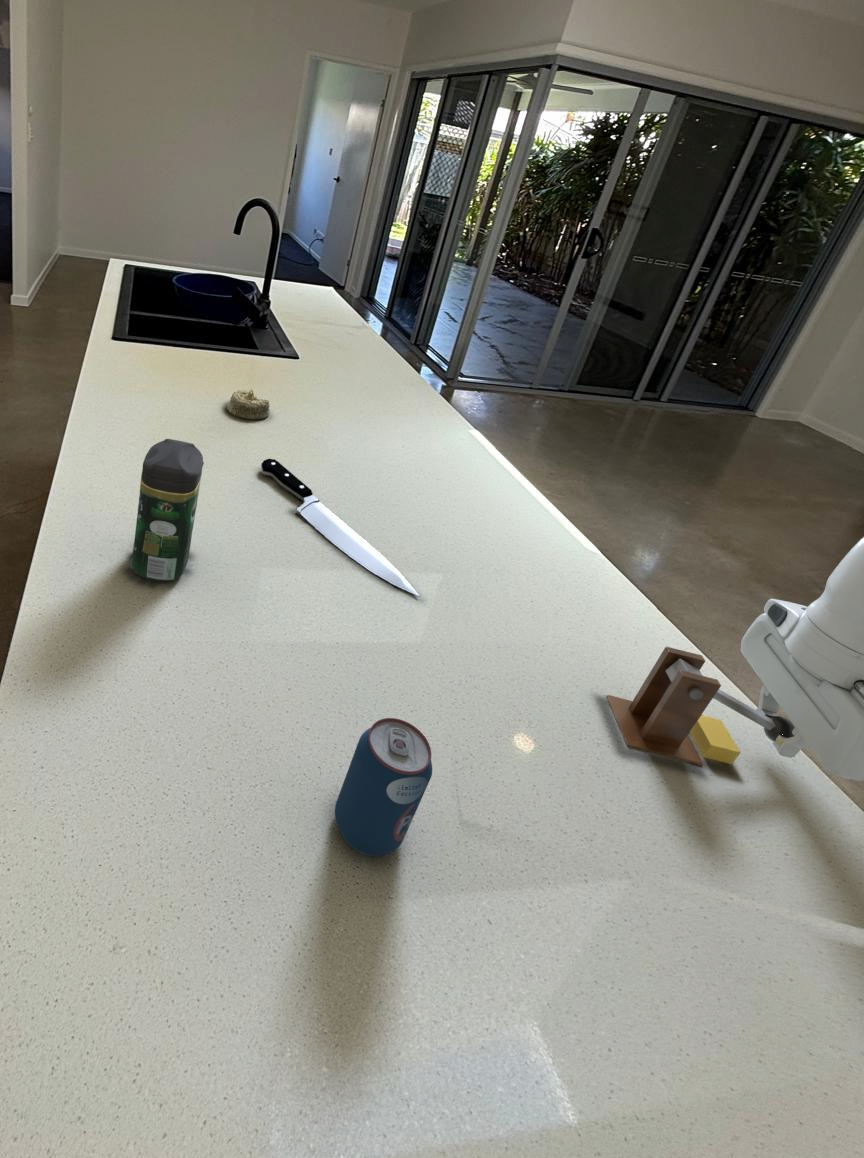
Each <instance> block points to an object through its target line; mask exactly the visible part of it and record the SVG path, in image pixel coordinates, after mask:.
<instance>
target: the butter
mask: <svg viewBox="0 0 864 1158" xmlns="http://www.w3.org/2000/svg"><path fill="white" fill-rule="evenodd" d="M689 734H690V736H691V737H692V740H693V741H694V743H695V745H696V747H697V749H698V751H699V753H700V755H701V756H702V757H703V758H706V759H709V760H714V761H717V762H720V763H724V764H728V765H733V763H735V761H736V759H737V758H738V757H739V755H740V754H741V751H740V749H739V748H738V746H737V744H736V743H735V741H734V739H733V738H732V736H731V734H730V733H729V731H728V729H727V728H726V726H725V723H724V722H723V721H722V720H721V719H719V718H714V717H711V716H707V715H703V714H702V715H701V716H700V718H699V719H698V721H697V722H696V724H695V725H694V726H693V728H692V729H691V731H690V732H689Z"/></svg>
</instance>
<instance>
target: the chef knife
mask: <svg viewBox="0 0 864 1158" xmlns="http://www.w3.org/2000/svg"><path fill="white" fill-rule="evenodd" d="M260 469H261V474H262V475H264V476H267V477H270V478H272V479H274V480H275V481H276V482H277V484H279V486H280V487H282V488H283V489H285V490H286V491H287V492H289V493H290V494H291V495H293V496H294V497H295V498H296V499H298V500H299V501H300V502H302V504H301V505H300V506H299V507H297V508H296V509H295V510H296V511H295V513H296V514H297V515H298V516H301V517H302V518H303V519H304V520H305V521H306V522H308V523H309V524H310V525H311V526H312V527H314V529H316V530H317V531H318V532H319V533H320V534H321V535H323V537H325V538H326V540H328V541H329V542H331V543H332V544H333V545H334V546H335V547H337V549H339V550H341V551H342V552H343V553H344V554H346V555H347V556H348V557H349V558H350V559H352V560H354V561H355V562H356V563H358V564H359V565H360V566H361V567H363V568H365V569H366V570H368V571H369V572H371V573H372V574H374V575H376V576H378V577H379V578H381V579H383V580H384V581H386V582H387V583H389V584H391V585H393V586H395V587H397V588H399V589H401V590H403V591H406V592H408V593H410V594H412V595H415V596H417V597H420V594H419V593H418V592H417V590H415V588H414V587H413V586H412V585H411V583H410V582H409V581H408V579H407V578H406V577H405V576H404V574H402V573H401V572H400V571H399V570H398V568H396V566H394V565H393V564H392V563H391V562H390V561H389V559H388V558H386V557H385V556H384V555H382V554H381V552H379V551H378V550H377V549H375V547H374V546H372V545H371V544H370V543H369V542H367V540H365V539H364V538H363V537H362V536H361V535H360V534H358V533H357V532H356V530H354V529H353V528H351V527H350V526H349V525H348V524H347V523H345V521H343V520H342V519H341V518H340V517H339V516H337V515H336V514H335V513H334V512H332V511H331V510H330V509H329V508H328V507H327V506H325V505H324V504H323V502H321V501H320V499H319V498H318V497H317V496H315V495H314V493H313V491H312V489H311V488H309V486H308V485H306V484H305V483H303V481H301V480H300V479H299V478H298V477H297V476H296V475H295V474H294V473H292V472H291V471H290V470H288V469H287V468H286V467H285V466H284V465H282V463H281V462H279V461H278V460H276V459H275V458H266V459H264V460H263V461H261V463H260Z"/></svg>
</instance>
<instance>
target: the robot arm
mask: <svg viewBox="0 0 864 1158" xmlns="http://www.w3.org/2000/svg"><path fill="white" fill-rule="evenodd" d="M763 612H764V613H761V614H759V615H758V616H757V617H756V618H755V620H754V621H753V622H752V623H751V624H750V626H749V628H748V629H747V630H746V632H745V633H744V635H743V637H742V638H741V642H740V653H741V654H742V656H743V657H744V659H745V660H746V661H747V662H748V664H749V665H750V667H751V669H753V671H754V672H755V673H756V675H757V677H758V678H759V679H760V681H761V682H762V683H763V685H762V686H761V688H760V692H759V700H758V707H757V708H756V709H755V710H756V711H758V712H760V713H762V714H763V715H765V716H767V717H772V716H779V714H778V710H779V707H780V708H781V710H782V711H783V713H784V714H785V715H786V717H787V719H788V720H789V721H791V722H792V724H793V725H794V726H795V728H794V729H793V731H792V734H793V735H795V736H794V737H791V738H790V737H788V738H787V737H785V736H782V735H779V736H778V737H777V738H776V741H774V742H773V741H772V745H773V746H774V748H775V750H776V751H777V753H778V755H780V756H782V757H785V758H788V759H789V758H790V759H792V758H795V757H796V756H797V755H798V753H799V752H800V751H801V750H807V749H810V750H811V752H812V753H813V754H814V756H815V758H816V759H817V760H818V761H819V763H820V764H821V765H822V767H823V768H824V770H825V771H826V772H827V773H828V774H831V775H833V776H837V777H839V778H844V779H848V780H851V781H861V782H862V781H864V536H862V537H861V538H860V540H859V541H857V542H856V543H855V545H854V546H853V547H852V548H851V549H850V550H849V551H848V552H847V554H845V556H844V557H843V558H842V559H841V561H840V562H839V563H838V564H837V566H836V567H835V568H834V570H833V571H832V572H831V573H830V575H829V576H828V578H827V581H826V583H825V587H824V591H823V592H822V594H821V595H820V596H819V597H818V598H817V599H816V600H814V601H812V602H811V603H809V605H808V606H806V605H803V604H799V603H795V602H791V601H786V600H781V599H776V598H769V599H768V600H767V602H766V603H765V605H764V607H763Z"/></svg>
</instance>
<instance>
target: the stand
mask: <svg viewBox="0 0 864 1158" xmlns="http://www.w3.org/2000/svg"><path fill="white" fill-rule="evenodd" d="M679 659H682V660H683V661H685V662H687V663H689V664H690V665H692V666H694V667H696V668H697V669H699V671H701V669H702V668H703V666H704V664H705V663H706V659H705V658H704V656H703V654H698V653H694V652H690V651H686V650H681V649H678V648H674V647H670V646H665V647H664V649H663V650H662V652H661V653H660V655H659V656H658V659H657V660H656V661H655V664H654V665H653V667H652V669H650V671H649V674H648V675H647V677H646V678H645V680H644V682H643V683H642V685H641V687H640V688H639V690H638V692H637V693H636V695H635V696H634V698H633V700H629V699H626V698H621V697H617V696H614V695H611V694H606V695H605V698H606V700H607V702H608V705H609V708H610V709H611V712H612V714H613V717H614V719H615V721H616V724H617V726H618V728H619V732H620V734H621V736H622V738H623V741H624V743H625V746H626V747H628V748H632V749H637V750H641V751H644V752H648V753H651V754H655V755H660V756H663V757H667V758H671V759H674V760H679V761H683V762H687V763H690V764H694V765H699V766H703V765H704V762H703V761H702V759H701V757H700V755H699V754H698V751H697V750H696V747H695V746H694V744H693V741H692V740H691V738H690V736H689V734H690V731H691V729H692V728H693V726H694V725H695V724H696V722H697V721H698V719H699V718H700V716H701V715H703V713H704V712H705V710H706V709H707V707H708V706H709V704H710V703H711V701H712V700H714V698H713V697H714V696H715V694H716V693H717V691H718V690H719V689H720V688H721V687H722V684H721V683H720V681H719V680H718V679H716V678H713V677H709V676H705V675H703V676H701V675H697V674H693V673H689V672H685V671H681V670H679V672H678V673H677V675H676V676H675V678H674V679H673V681H672V682H671V680H670V678H669V676H668V675H667V673H666V670H667V669H668V668H669V667H670V666H671V665H673V664H674V663H675V662H676V661H677V660H679Z"/></svg>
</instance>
